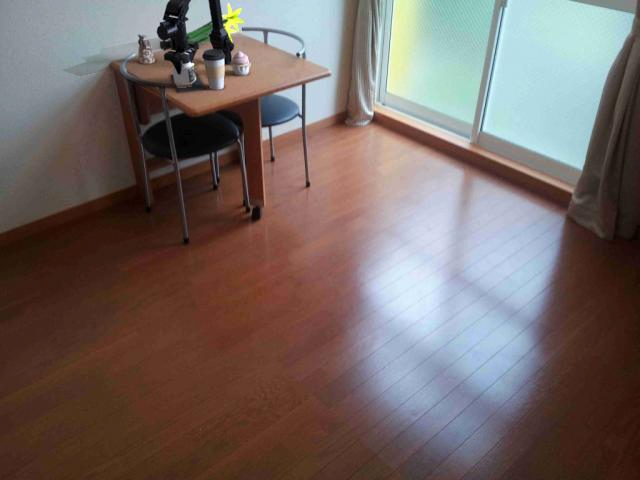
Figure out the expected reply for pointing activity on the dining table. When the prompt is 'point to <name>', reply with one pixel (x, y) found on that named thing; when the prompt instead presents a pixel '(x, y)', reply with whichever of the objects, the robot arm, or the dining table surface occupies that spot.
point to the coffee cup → (214, 68)
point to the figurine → (145, 50)
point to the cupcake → (240, 64)
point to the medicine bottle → (185, 71)
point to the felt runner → (195, 85)
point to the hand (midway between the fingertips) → (184, 71)
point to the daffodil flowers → (203, 32)
